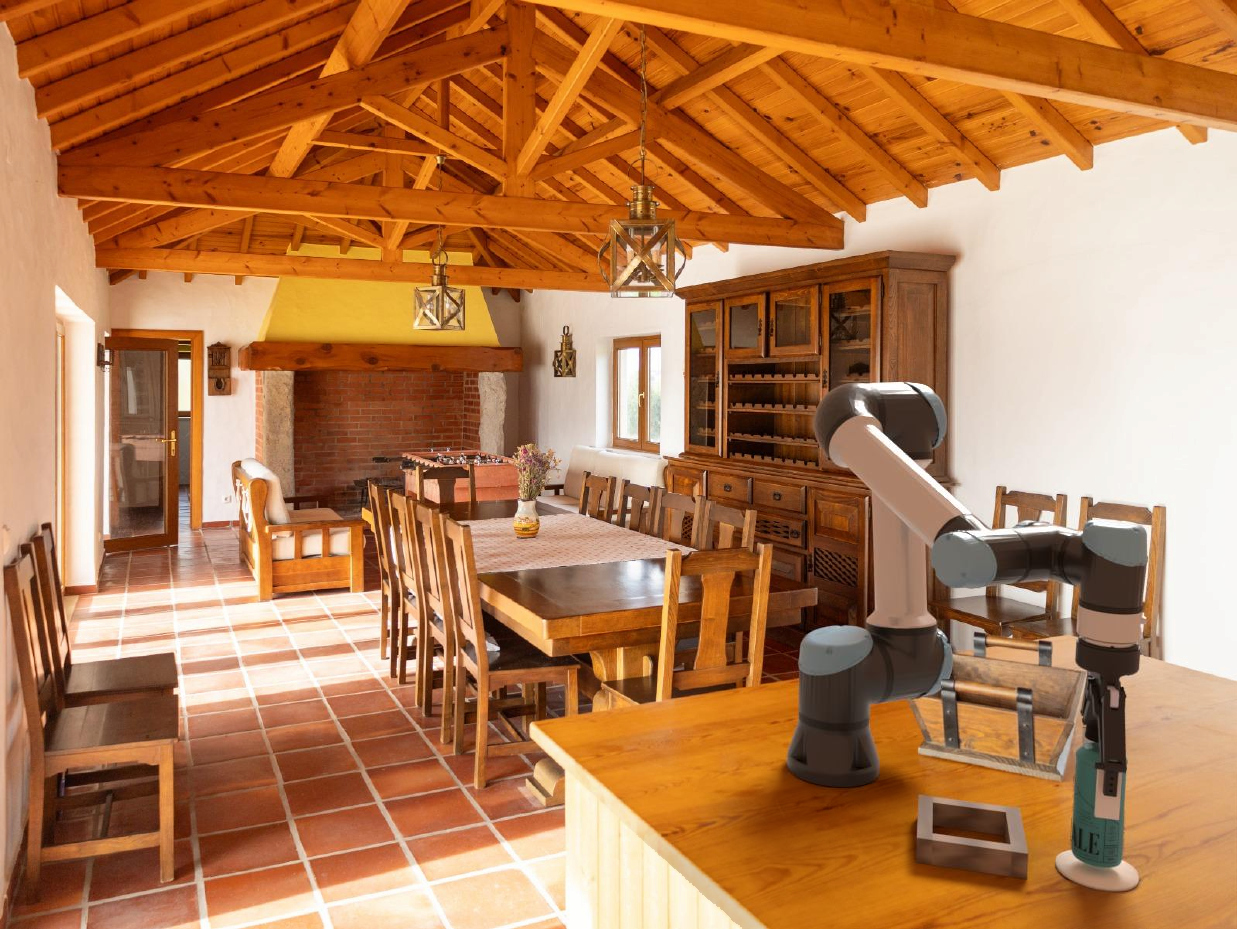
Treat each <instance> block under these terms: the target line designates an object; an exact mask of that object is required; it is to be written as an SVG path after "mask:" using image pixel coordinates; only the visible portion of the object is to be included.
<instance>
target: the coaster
mask: <svg viewBox="0 0 1237 929" xmlns="http://www.w3.org/2000/svg"><path fill="white" fill-rule="evenodd" d="M1055 868H1056V870H1057V871H1058V872H1059V873H1060V875H1062V876H1063V877H1065V878H1067V879H1068V880H1070V881H1071V882H1073V883H1075V884H1078V885H1080V886H1082V887H1086V888H1090V889H1093V890H1098V891H1103V892H1113V893H1114V892H1117V893H1118V892H1126V891H1130V890H1133V889H1135V888H1136V887H1137V886H1138V884H1139V880H1140V876H1139V873H1138V871H1137V869H1136V868H1135V867H1133V865H1131V864H1129V863H1128V862H1126V860H1123V859H1122V861H1121V863H1120V865H1118V866H1116V867H1111V868H1103V867H1096V866H1092V865H1089V864H1086V863H1084V862H1082V861H1080V860H1078V859H1077V858H1076V857H1075V856H1074V855H1073V853H1072V850H1071V849H1069V850H1065V851H1062V852H1060V853H1059V854H1058V855H1057V856H1056V857H1055Z"/></svg>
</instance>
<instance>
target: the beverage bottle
mask: <svg viewBox="0 0 1237 929" xmlns="http://www.w3.org/2000/svg"><path fill="white" fill-rule="evenodd" d="M1085 727H1086V731H1085V737H1086V738H1087V739H1088V740H1090V741H1093V742H1091V743H1086V744H1084V745H1083V746H1081V745H1080V746H1079V747H1078V748H1076V750H1075V767H1074V778H1073V782H1072V785H1073V786H1072V788H1073V794H1072V798H1073V803H1072V809H1071V812H1072V817H1071V819H1070V820H1071V821H1070V828H1071V838H1070V841H1069V845H1070V850H1072V853H1073V855H1074V856H1075V857H1076V858H1077V859H1078V860H1080V861H1082V862H1084V863H1086V864H1089V865H1092V866H1096V867H1103V868H1111V867H1116V866H1118V865H1120V863H1121V861H1122V860H1123V857H1124V856H1125V855H1124V853H1123V852H1125V850H1124V849H1125V846H1124V844H1125V839H1124V835H1125V830H1126V828H1125V823H1126V818H1125V816H1126V815H1127V814H1126V813H1125V806H1126V805H1125V804H1126V788H1127V787H1126V786H1127V784H1126V783H1127V782H1126V781H1127V772H1126V773H1122V783H1121V798H1120V812H1119V820H1113V819H1106V818H1099V817H1095V815H1094V812H1095V797H1096V782H1097V769H1094V763H1095V762H1097V763H1099V762H1100V755H1099V736H1098V720H1090V721H1088V722H1087V725H1085ZM1109 761H1116V762H1117V760H1109ZM1127 765H1128V758H1127V757H1126V766H1127ZM1127 767H1128V766H1127Z"/></svg>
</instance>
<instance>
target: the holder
mask: <svg viewBox="0 0 1237 929" xmlns="http://www.w3.org/2000/svg"><path fill="white" fill-rule="evenodd" d="M917 801H918V804H917V806H918V808H917V824H916V825H917V826H916V854H915V862H916V863H918V864H924V865H925V864H926V865H931V866H937V867H945V868H952V869H959V870H965V871H970V872H971V871H972V872H979V873H985V874H989V875H990V874H991V875H998V876H1004V877H1011V878H1015V879H1016V878H1019V879H1022V880H1023V879H1024V880H1027V879H1028V865H1029V851H1028V850H1029V849H1028V846H1027V840H1026V834H1025V829H1024V824H1023V819H1022V814H1021V809H1020V807H1013V806H1005V805H998V804H990V803H982V802H978V801H977V802H975V801H969V800H968V801H967V800H961V799H954V798H953V799H952V798H944V797H938V796H931V795H930V796H929V795H922V794H918V800H917ZM933 826H935V827H936V826H937V827H942V828H949V829H957V830H963V831H971V832H979V833H984V834H992V835H1000V836H1004V838H1005V839H1004V840H1005V843H1003V842H998V841H991V840H990V841H989V840H982V839H976V838H969V837H962V836H954V835H946V834H939V833H933Z"/></svg>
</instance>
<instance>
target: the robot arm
mask: <svg viewBox="0 0 1237 929" xmlns="http://www.w3.org/2000/svg"><path fill="white" fill-rule="evenodd" d="M947 428H948V418H947V413H946V408H945V406H944V404H943V402H942V400H941V397H940V396H939V395H937V394H936V393H935V391H934V390H933V389H932V388H930V387H929V386H927V385H925V384H922V383H917V382H916V383H915V382H907V381H904V382H902V381H899V382H863V383H862V382H851V383H848V382H847V383H845V384H841V385H838V386H837V387H835V388H833V389H831V390H830V391H829V392H827V393H826V394H825V395H824V396H823V397H822V399H821V400H820V401H819V403H818V405H817V407H816V409H815V413H814V417H813V431H814V432H813V433H814V436H815V439H816V441H817V443H818V445H819V447H820V448H821V450H822V451H823V453H824V454H825V455H826V456H827V457H828V458H829V459H830V460H831V461H832V462H833V463H834V464H835V465H836V466H838V467H841V468H845V469H847V468H849V470H850V471H851V472H853V474H854V475H856V476H857V477H858V479H859V480H860V481H862V482H863V484H865V485H866V486H867V487H868V489H870V491H871V502H872V508H871V509H872V534H873V535H872V540H873V543H872V544H873V576H874V577H873V578H874V581H873V582H874V610H873V612H872V613H871V614H870V615H869V616H868V617H866V622H865V623H866V628H863V627H860V626H856V625H849V624H848V625H847V624H845V625H841V626H840V625H830V626H825V627H820V628H817V629H814V630H812V631H811V632H809V633H808V634H805V636H804V637H803V638H802V641H801V642H800V646H799V647H800V648H799V658H798V661H797V664H798V669H799V670H798V673H799V674H798V676H799V677H798V715H797V716H798V718H797V719H798V721H797V724H796V727H795V730H794V733H793V734H792V735H793V736H792V737H791V741H790V742H789V745H788V749H787V754H786V756H787V757H786V768H787V769H788V771H789V772H790V773H791V774H792V775H794V776H795V777H797V778H799V779H801V780H802V781H803V780H804V781H806V782H808V783H812V784H815V785H820V786H825V787H834V788H835V787H836V788H851V787H858V786H864V785H868V784H870V783H871V782H874V781H875V780H876V779H878V777H879V775H880V757H879V755H878V751H877V747H876V745H875V741H874V738H873V735H872V731H871V726H870V716H871V715H870V713H871V712H870V711H871V706H873V705H878V704H884V703H891V702H899V701H903V700H918V699H921V698H924V697H926V696H930V695H934V694H936V693H939V691H941V689H942V688H941V681H942V679H950V677H951V674H952V671H953V667H954V666H953V664H954V663H953V662H954V661H953V660H954V659H953V658H954V656H953V654H954V653H953V651H952V646H951V644H950V643H948V637H947V636H946V634H945V633H944V632H943V631H942V630H941V629H939V628H938V626H937V624H938V623H937V619H936V618H935V617H934V616H933V614H931V613H930V612H929V611H928V607H927V606H928V602H927V600H928V599H927V598H928V597H927V591H928V590H927V566H926V565H927V558H926V554H927V553H926V546H928V548H930V550H931V552H930V562H931V567H932V568H933V569H934V571H935V576H936V578H938V581H940V582H941V583H942V584H943V585H945V586H946V587H949V588H952V589H970V590H971V589H972V590H973V589H980V588H984V587H985V588H986V587H992V586H1000V585H1001V586H1003V585H1009V584H1019V583H1022V584H1023V583H1028V582H1038V581H1039V582H1041V581H1056V582H1059V583H1062V584H1067V585H1070V586H1073V587H1078V589H1079V591H1078V603H1077V617H1076V632H1077V634H1078V635H1079V636H1078V637H1077V638H1076V641H1075V642H1076V643H1075V657H1074V661H1075V664H1076V665H1077V666H1078V667H1079V668H1081V669H1083V670H1085V671H1086V677H1085V685H1084V689H1083V690H1084V691H1083V697H1082V702H1081V708H1080V710H1079V712H1080V716H1081V722H1082V728H1081V745H1080V747H1081V746H1083V745H1084V744H1086V743H1091V742H1093V741H1090V740H1088V739H1087V738H1086V737H1085V731H1086V725H1087V722H1088V721H1090V720H1098V736H1099V755H1100V762H1099V763H1097V762H1095V763H1094V769H1097V782H1096V797H1095V812H1094V815H1095V817H1099V818H1106V819H1113V820H1119V812H1120V798H1121V783H1122V773H1126V774H1127V771H1128V766H1126V758H1127V747H1126V745H1127V742H1126V740H1127V739H1126V738H1127V737H1126V698H1127V694H1126V691H1125V687H1124V686H1122V685H1121V684H1122V683H1121V680H1120V679H1121V678H1122V677H1125V676H1126V677H1127V676H1129V677H1131V676H1133V675H1135V674H1137V673H1138V672H1139V670H1140V661H1141V660H1140V659H1141V649H1142V648H1141V646H1140V645H1139V643H1138V642H1139V641H1141V639H1142V627H1141V626H1142V625H1146V624H1147V623H1148V618H1147V617H1146V616H1143V610H1144V603H1143V602H1144V592H1145V585H1146V584H1145V582H1146V574H1147V565H1148V562H1149V555H1148V533H1147V530H1146V529H1145V528H1144V526H1143V525H1141V524H1140V523H1136V522H1131V521H1128V520H1118V519H1104V518H1100V519H1099V518H1096V519H1091V520H1087V521H1086V522H1085V523H1084V525H1083V530H1080V529H1075V528H1072V527H1071V528H1070V527H1066V526H1062V525H1057V524H1053V523H1050V522H1049V521H1045V520H1044V521H1043V520H1042V521H1036V520H1021V521H1019V522H1018V523H1017V524H1015V525H1014V526H1012V527H1004V528H992V527H989V526H988V525H987V524H985V522H983V521H982V520H981V519H980V518H978V517H977V516H976V515H975V514H974V513H973V512H972V511H970V510H969V509H968V508H967V507H966V506H965V505H964V504H963V503H961V502H960V501H959V500H958V499H957V498H956V497H955V496H954V495H953V494H952V493H950V492H949V491H948V490H947V489H946V488H945V487H944V486H943V485H942V484H940V483H939V482H938V481H937V480H936V479H935V478H934V477H932V476H931V475H930V474H929V473H928V472H927V471H926V468H927V467H928V466H930V465H931V463H932V462H933V450H934V449H936V448H938V447H939V446H940V445H941V444H942V442H943V440H944V439H943V438H944V437H945V436H946V433H947ZM1109 760H1117V762H1116V761H1109Z"/></svg>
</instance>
